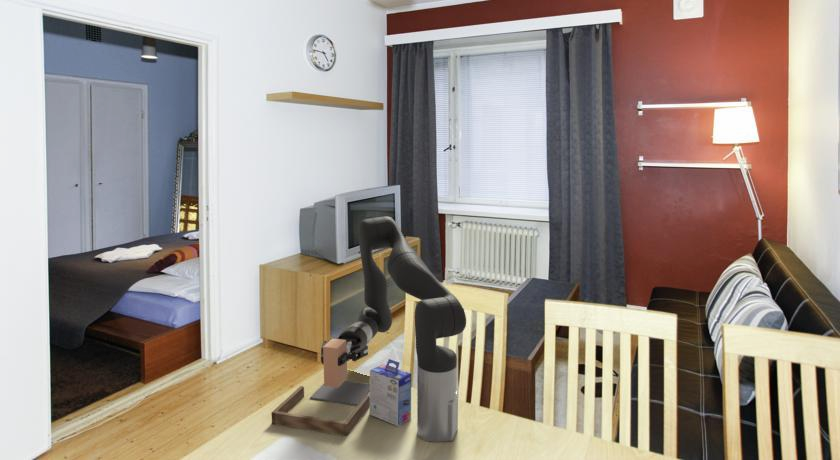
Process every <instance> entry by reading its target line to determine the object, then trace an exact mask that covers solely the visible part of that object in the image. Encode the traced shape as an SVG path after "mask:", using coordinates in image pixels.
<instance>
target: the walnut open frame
mask: <svg viewBox="0 0 840 460" xmlns="http://www.w3.org/2000/svg"><path fill="white" fill-rule="evenodd" d="M304 398H305V386H303V385H300V386H299V387H298V388H296V389H295V391H293V392H292V393H291V394H290V395H289V396H288V397H287V398H286V399H285V400H283V401H282V403H280V404H279V405H278V406H276V408H275V409H273V410H272V411H271V413H270V414H271V424H272V425H277V426H282V427H283V426H284V427H289V428H290V427H291V428H295V429H296V428H297V429H303V430H308V431H315V432H320V433H327V434H332V435H340V436H345V437H347V436H348V435H349V434H350V433H351V431H352V430H353V429H354V428H355V426H356V425H357V424H358V422H359V421H360V420H361V418H362V417H363V416H364V415H365V414H366V412H367V411H368V409H370V395H368V394H367V395H366V396H365V397H364V398H363V399H362V401H361V402H360V403H359V404H358V406H357V405H356V407H355V408H354V409H353V411H352V412H351V413H350V414H349V415H348V417H347V418H346V419H345V420H344V421H342V420H338V419H337V420H336V419H330V418H325V417H324V418H323V417H317V416H311V415H304V414H298V413H293V412H291V413H290V411H291V410H292V409H293V408H295V406H296V405H298V404H299V402H301V400H302V399H304Z"/></svg>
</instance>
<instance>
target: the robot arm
mask: <svg viewBox="0 0 840 460" xmlns="http://www.w3.org/2000/svg"><path fill="white" fill-rule="evenodd" d="M357 233H358V234H357V235H358V236H357V238H358V246H359V252H360V258H361V266H362V271H363V273H362V274H363V282H364V285H363V286H364V287H363V288H364V290H363V291H364V297H363V298H364V304H365V305H366V306H365V307H364V308H361V311H360V312H359V317H358V318H357V320H356V321H355V322H353V324H351V325H349V326H348V327H347V328H346V329H344V331H343V332H342V333H340V334H339V336H338V338H337V339H342V340H346V345H347V350H346V351H345V353H343V354H342V355H341V356H340V357H339V358H338V366H341V365H343V364H345V363H346V362H347V363H348V362H350V360H351V361H352V362H357V361H358V360H361V359H362V358H365V357H366V356H368V355H369V346H368V345H369V343H370V342H371V340H372V339H373V338H375V336H376V335H377V333H387V332H388V331H389V330H390V329H391V327H392V325H393V315H392V312H391V308H390V306H389V301H388V282H387V278H386V276H385V274H384V272H383V271H382V270H381V268H380V267H379V265H377V263H376V262H375V260H374V258H373V251H376V250H380V249H387V248H388V249H389V248H390V249H391V252H390V254H389V255H388V259H387V264H386V266H387V272H388V274H389V276H390V278H391V279H392V280H393V282H394V284H395V285H396V286H397V287H398V289H399V290H401V291H403V293H405V294H407V295H409V296H412V297H414V298H415V299H418V300H419V301H418V302H417V303H416V306H415V309H414V331H415V351H416V357H417V358H416V359H417V372H416V373H417V382H416V383H417V387H416V388H417V393H416V394H417V395H416V396H417V398H416V399H417V401H416V404H417V406H416V407H417V408H416V409H417V410H416V411H417V413H416V414H417V419H416V421H417V422H416V427H417V435H418V436H419V437H420V438H421V439H422V440H425V441H428V442H432V443H440V442H442V443H443V442H446V441H447V442H449V441H450V442H453V441H454V439H455V436H456V433H457V431H458V424H459V392H458V391H457V367H458V366H457V363H458V361H457V360H458V358H457V353H456V352H455V351H454V350H453V349H451V348H449V347H446V346H444V345H443V346H442V345H437V339H444V338H450V337H455V336H457V335H460V334H461V333H462V332H464V330H465V329H466V326H467V317H466V312H465V309H464V307H463V305H462V304H461V302H460V300H458V298H457V296H455V295H454V294H453V293H452V292H451V291H450V290H449V289H447V288H446V287H445V285H444V284H442V283H441V282H440V281H439V279H437V277H436V276H435V275H434V274H433V273H432V271H431V270H430V269H429V268H428V266H427V265H426V263H425V262H424V260H422V258H421V257H420V256H419V255H418V253H417V252H416V251H415V250H414V249H413V247H412V246H411V244H410V243H409V242H408V240H407V239H406V237H405V235H404V234H403V232H402V231H401V229H400V227H399V225H398V224H397V222H396V221H395V219H393V217H390V216H387V215H386V216H384V215H383V216H379V217H371V218H364V219H362V220H361V221H359V224H358V231H357ZM327 343H328V340H322V343H321V344H322V345H321V347H320V354H321V355H320V362H321V364H322V365H324V361H323V346H324V345H326V344H327Z"/></svg>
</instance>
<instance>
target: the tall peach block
mask: <svg viewBox="0 0 840 460" xmlns="http://www.w3.org/2000/svg"><path fill="white" fill-rule="evenodd" d="M346 350H347V345H346V340H342V339H338V338H331V339H329V341H327V344H326V345H324V346H323V361H324V364H323V379H324V380H323V382H324V383H323V384H324V386H328V387H335V388H339V387H340V386H341V384H342V383H343V382H344V381H347V379H348V361H347V362H346V363H345V364H343V365H341V366H338V358H339V357H340V356H341V355H342V354H343V353H345V351H346Z"/></svg>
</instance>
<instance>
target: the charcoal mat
mask: <svg viewBox="0 0 840 460" xmlns="http://www.w3.org/2000/svg"><path fill="white" fill-rule="evenodd" d="M368 394H370V383H366V382H357V381H350V380H345V381H344V382H343V383H342V384H341V386H340V387H339V388H335V387H328V386H324V383H323V384H322V385H321V386H320V387H319V388H318V389H317V390H316V391H315V392H314V393H312V395H311V396H310V397H309V399H311V400H317V401H323V402H324V401H325V402H329V403H330V402H331V403H338V404H344V405H352V406H356V407H357V406H358V404H359V403H360V402H361V401H362V399H363V398H364V397H365V396H366V395H368Z"/></svg>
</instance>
